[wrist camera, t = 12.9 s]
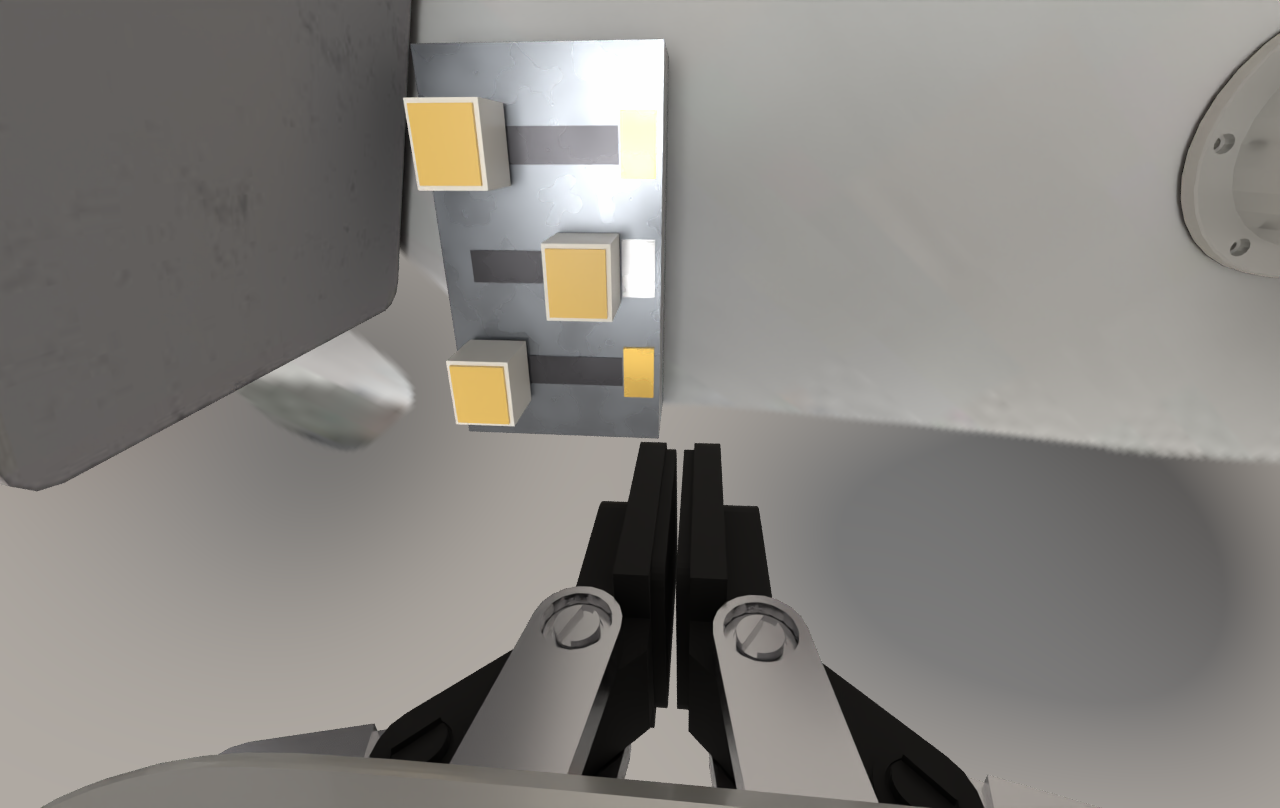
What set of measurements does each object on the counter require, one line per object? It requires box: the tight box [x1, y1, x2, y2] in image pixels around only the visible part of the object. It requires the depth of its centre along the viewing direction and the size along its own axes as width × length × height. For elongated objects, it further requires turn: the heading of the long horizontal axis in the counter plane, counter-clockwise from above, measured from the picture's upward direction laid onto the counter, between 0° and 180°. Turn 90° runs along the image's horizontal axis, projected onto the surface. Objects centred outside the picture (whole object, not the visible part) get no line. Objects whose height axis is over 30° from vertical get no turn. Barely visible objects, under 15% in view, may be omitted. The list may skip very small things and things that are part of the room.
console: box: [410, 39, 668, 438], centre depth 29 cm, size 11×19×5 cm, turn 0°
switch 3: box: [541, 233, 620, 322], centre depth 25 cm, size 3×3×3 cm
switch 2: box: [446, 340, 531, 426], centre depth 28 cm, size 3×3×3 cm
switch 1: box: [403, 97, 511, 191], centre depth 23 cm, size 3×3×3 cm
